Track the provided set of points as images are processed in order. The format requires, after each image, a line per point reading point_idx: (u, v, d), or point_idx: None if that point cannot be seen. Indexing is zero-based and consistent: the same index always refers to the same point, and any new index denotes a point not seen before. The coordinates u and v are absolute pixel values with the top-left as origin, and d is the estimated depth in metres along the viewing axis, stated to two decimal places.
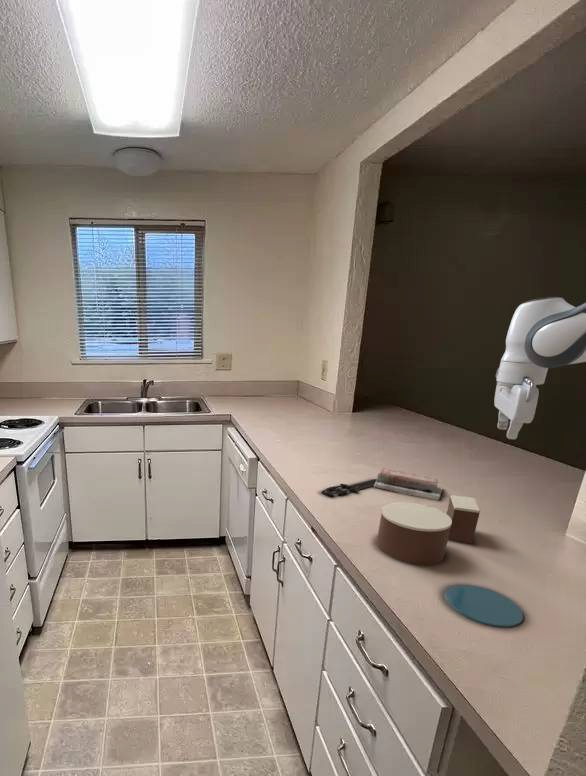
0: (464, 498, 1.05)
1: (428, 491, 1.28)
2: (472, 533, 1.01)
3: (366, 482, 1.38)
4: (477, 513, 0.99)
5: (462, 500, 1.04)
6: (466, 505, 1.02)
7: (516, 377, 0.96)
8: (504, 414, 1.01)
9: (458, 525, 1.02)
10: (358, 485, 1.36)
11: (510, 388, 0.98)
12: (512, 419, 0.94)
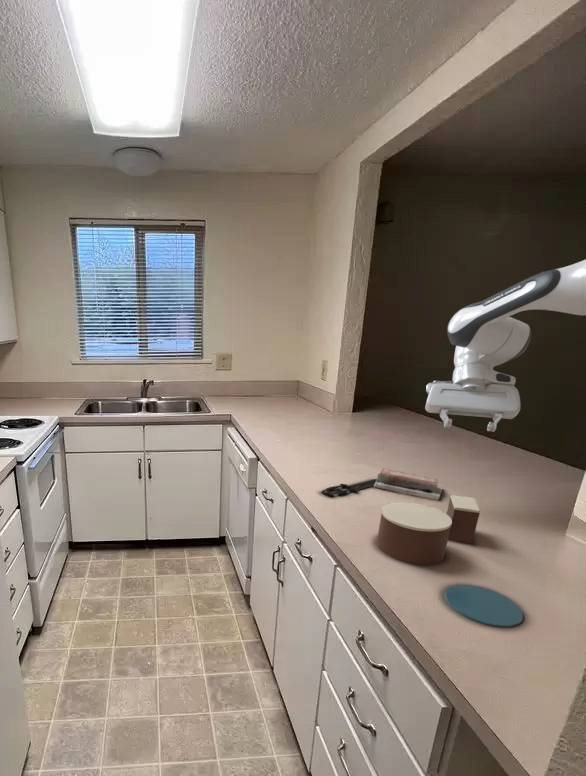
0: (464, 498, 1.05)
1: (428, 491, 1.28)
2: (472, 533, 1.01)
3: (366, 482, 1.38)
4: (477, 513, 0.99)
5: (462, 500, 1.04)
6: (466, 505, 1.02)
7: None
8: (459, 414, 1.12)
9: (458, 525, 1.02)
10: (358, 485, 1.36)
11: None
12: None
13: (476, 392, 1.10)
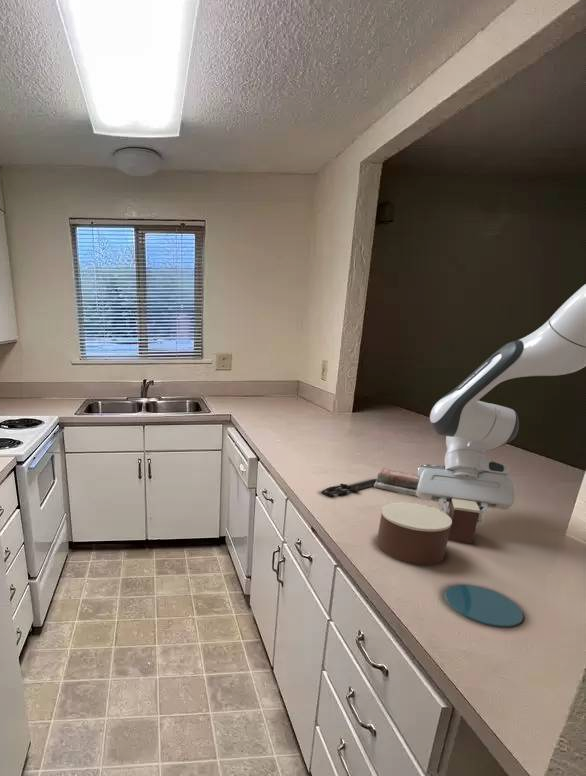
0: None
1: None
2: (472, 533, 1.01)
3: (366, 482, 1.38)
4: (476, 513, 0.99)
5: (462, 500, 1.04)
6: (466, 505, 1.02)
7: None
8: None
9: (458, 525, 1.02)
10: (358, 485, 1.36)
11: None
12: None
13: (468, 479, 1.06)
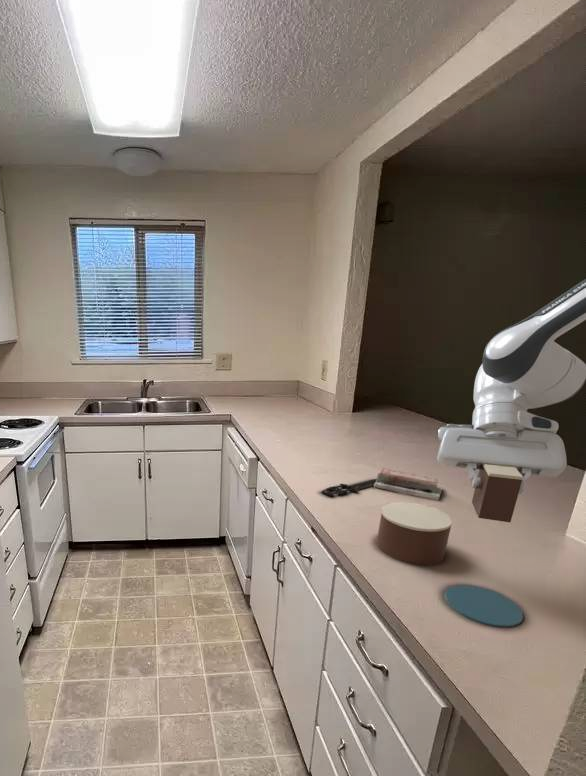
0: None
1: (428, 491, 1.28)
2: (512, 507, 0.78)
3: (366, 482, 1.38)
4: (518, 480, 0.77)
5: (498, 466, 0.82)
6: (504, 471, 0.79)
7: None
8: None
9: (493, 496, 0.79)
10: (358, 485, 1.36)
11: None
12: None
13: (504, 440, 0.83)
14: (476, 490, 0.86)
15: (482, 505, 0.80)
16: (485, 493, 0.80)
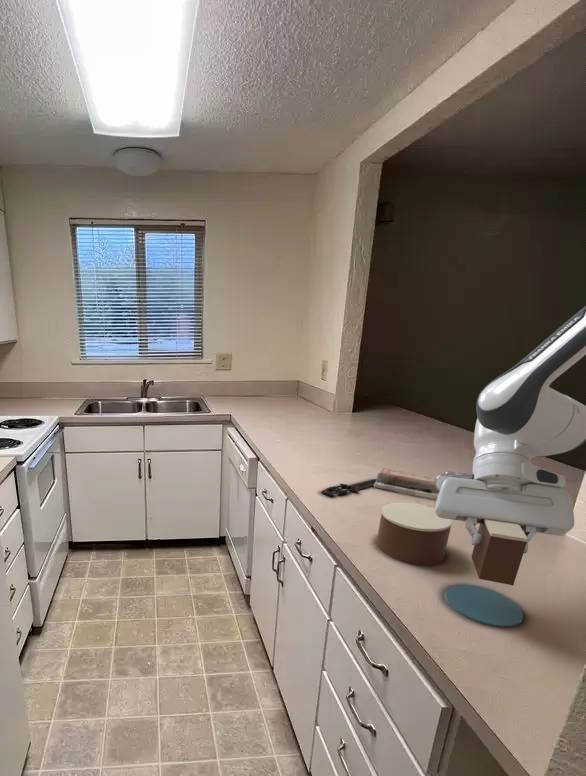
0: None
1: (428, 491, 1.28)
2: (515, 569, 0.73)
3: (366, 482, 1.38)
4: (523, 542, 0.71)
5: (500, 523, 0.76)
6: (507, 530, 0.73)
7: None
8: None
9: (495, 557, 0.73)
10: (358, 485, 1.36)
11: None
12: None
13: (507, 494, 0.78)
14: (476, 546, 0.80)
15: (483, 566, 0.74)
16: (486, 553, 0.74)
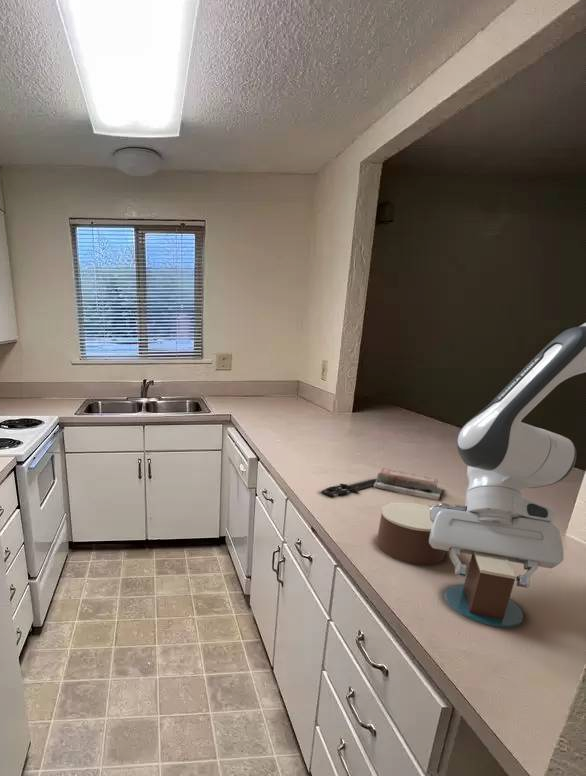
0: (492, 555, 0.79)
1: (428, 491, 1.28)
2: (504, 605, 0.75)
3: (366, 482, 1.38)
4: (511, 579, 0.73)
5: (490, 558, 0.78)
6: (496, 566, 0.76)
7: None
8: None
9: (484, 593, 0.76)
10: (358, 485, 1.36)
11: None
12: None
13: (498, 526, 0.80)
14: (468, 579, 0.82)
15: (473, 600, 0.77)
16: (477, 589, 0.76)
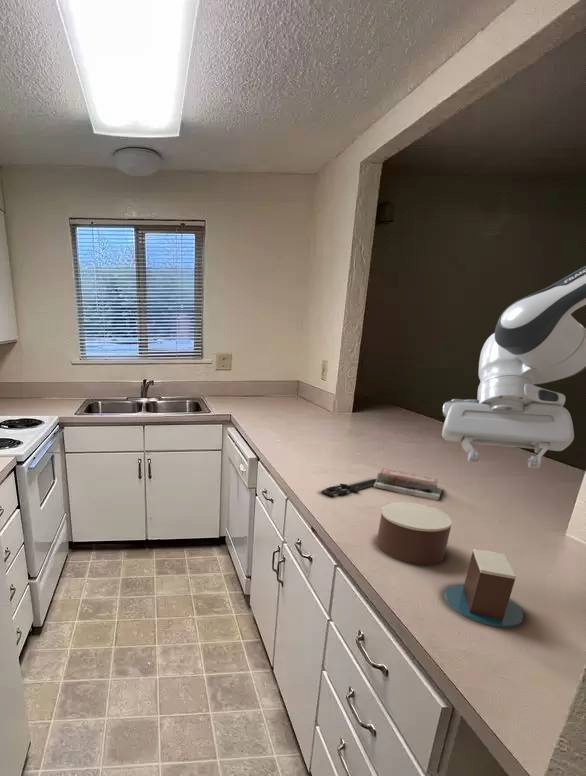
0: (492, 555, 0.79)
1: (428, 491, 1.28)
2: (504, 605, 0.75)
3: (366, 482, 1.38)
4: (511, 579, 0.73)
5: (490, 558, 0.78)
6: (496, 566, 0.76)
7: None
8: None
9: (484, 593, 0.76)
10: (358, 485, 1.36)
11: None
12: None
13: (510, 414, 0.82)
14: (468, 579, 0.82)
15: (473, 600, 0.77)
16: (477, 589, 0.76)
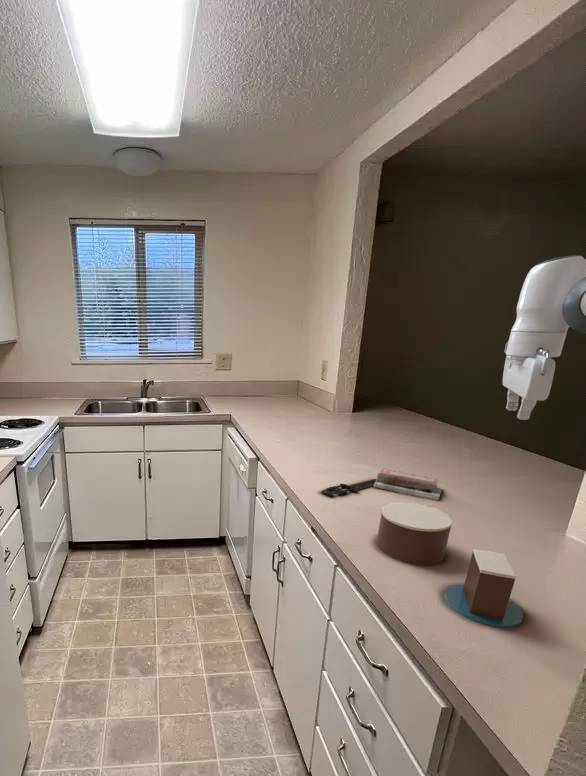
0: (492, 555, 0.79)
1: (428, 491, 1.28)
2: (504, 605, 0.75)
3: (366, 482, 1.38)
4: (511, 579, 0.73)
5: (490, 558, 0.78)
6: (496, 566, 0.76)
7: (529, 349, 0.84)
8: (514, 392, 0.89)
9: (484, 593, 0.76)
10: (358, 485, 1.36)
11: (522, 362, 0.87)
12: (524, 396, 0.83)
13: None
14: (468, 579, 0.82)
15: (473, 600, 0.77)
16: (477, 589, 0.76)
